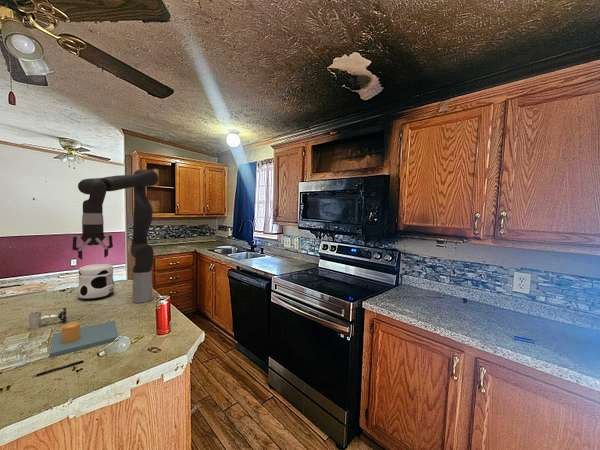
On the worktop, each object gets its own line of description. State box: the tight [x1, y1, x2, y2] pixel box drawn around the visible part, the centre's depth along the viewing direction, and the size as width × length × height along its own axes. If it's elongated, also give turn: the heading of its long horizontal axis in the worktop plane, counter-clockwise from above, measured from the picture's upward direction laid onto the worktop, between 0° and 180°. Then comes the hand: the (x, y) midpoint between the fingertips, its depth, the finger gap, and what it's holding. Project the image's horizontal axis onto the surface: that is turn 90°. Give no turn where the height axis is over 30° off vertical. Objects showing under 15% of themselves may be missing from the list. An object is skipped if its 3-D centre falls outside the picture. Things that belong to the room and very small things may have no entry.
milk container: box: [76, 263, 116, 300], centre depth 148 cm, size 17×17×18 cm
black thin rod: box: [31, 359, 84, 379], centre depth 83 cm, size 12×1×1 cm, turn 134°
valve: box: [27, 307, 67, 330], centre depth 113 cm, size 7×7×12 cm
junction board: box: [48, 320, 119, 358], centre depth 103 cm, size 20×18×2 cm
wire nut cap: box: [61, 321, 81, 343], centre depth 99 cm, size 5×5×6 cm
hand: (93, 258), depth 116 cm, fingers open, 8 cm apart
